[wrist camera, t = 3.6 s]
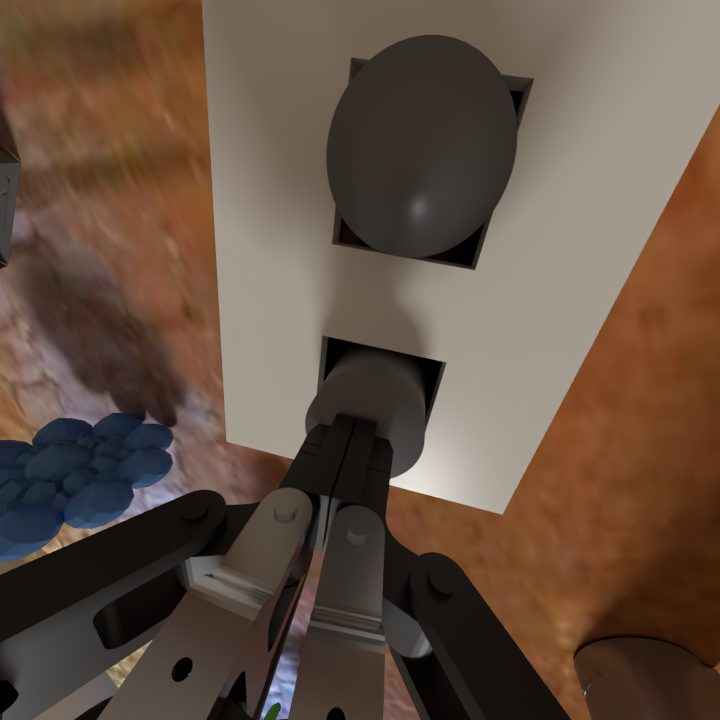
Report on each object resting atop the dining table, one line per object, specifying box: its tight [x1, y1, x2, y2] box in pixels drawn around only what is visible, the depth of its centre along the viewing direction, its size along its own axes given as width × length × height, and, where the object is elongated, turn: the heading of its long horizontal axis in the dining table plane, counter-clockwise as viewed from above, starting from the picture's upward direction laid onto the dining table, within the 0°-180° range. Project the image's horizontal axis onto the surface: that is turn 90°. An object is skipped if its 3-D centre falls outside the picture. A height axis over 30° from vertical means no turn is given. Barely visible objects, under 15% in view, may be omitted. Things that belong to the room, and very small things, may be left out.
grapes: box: [0, 413, 173, 562], centre depth 21 cm, size 12×7×12 cm, turn 82°
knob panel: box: [202, 0, 720, 514], centre depth 12 cm, size 14×26×6 cm, turn 171°
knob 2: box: [305, 342, 425, 479], centre depth 13 cm, size 4×4×5 cm
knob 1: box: [326, 35, 517, 258], centre depth 10 cm, size 4×4×5 cm
